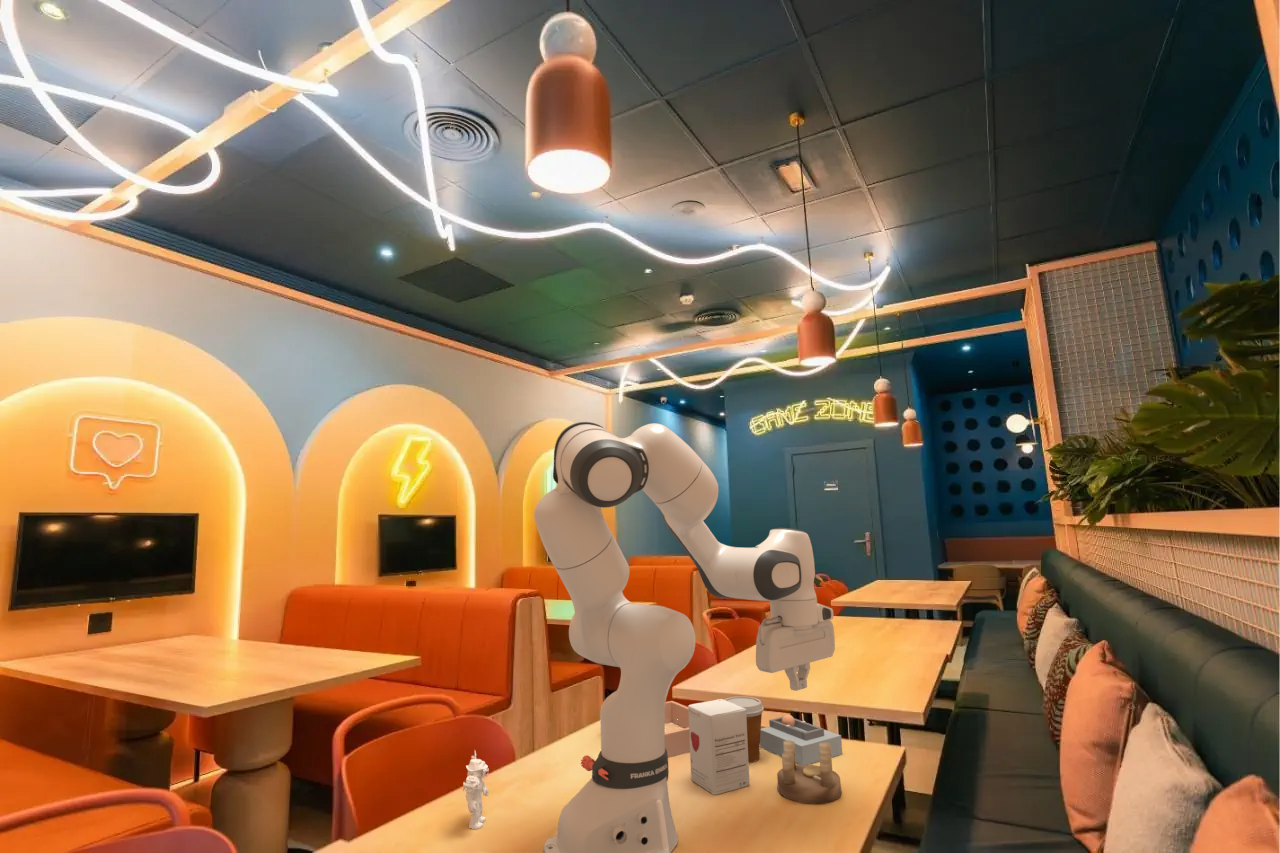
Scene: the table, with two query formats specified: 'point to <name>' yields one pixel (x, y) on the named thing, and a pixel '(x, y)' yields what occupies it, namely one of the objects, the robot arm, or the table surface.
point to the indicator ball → (788, 720)
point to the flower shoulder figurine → (476, 791)
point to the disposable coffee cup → (751, 723)
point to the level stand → (799, 740)
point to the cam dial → (808, 777)
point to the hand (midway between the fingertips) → (798, 689)
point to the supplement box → (718, 746)
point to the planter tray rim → (677, 739)
